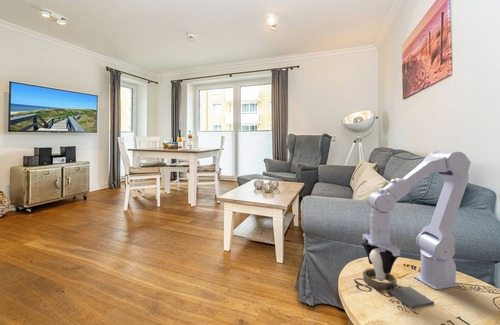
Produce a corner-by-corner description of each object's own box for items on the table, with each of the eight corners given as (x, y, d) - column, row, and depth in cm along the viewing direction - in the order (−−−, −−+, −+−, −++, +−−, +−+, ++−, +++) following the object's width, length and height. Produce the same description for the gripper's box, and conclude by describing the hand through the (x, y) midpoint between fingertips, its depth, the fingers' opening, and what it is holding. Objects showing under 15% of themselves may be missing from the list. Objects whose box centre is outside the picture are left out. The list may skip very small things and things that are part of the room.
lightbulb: (394, 286, 76) (392, 252, 75) (373, 285, 77) (372, 252, 76) (386, 276, 82) (385, 245, 81) (367, 276, 83) (366, 245, 82)
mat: (409, 288, 75) (409, 286, 75) (433, 303, 68) (433, 301, 68) (388, 291, 74) (388, 289, 74) (410, 308, 66) (410, 306, 66)
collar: (380, 272, 85) (380, 267, 85) (402, 287, 76) (403, 281, 76) (357, 276, 83) (357, 270, 83) (377, 291, 74) (377, 285, 74)
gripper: (355, 223, 85) (355, 259, 85) (386, 237, 71) (386, 281, 71) (371, 221, 86) (371, 257, 87) (406, 235, 72) (405, 277, 73)
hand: (379, 267), depth 79 cm, fingers closed on lightbulb, 6 cm apart
